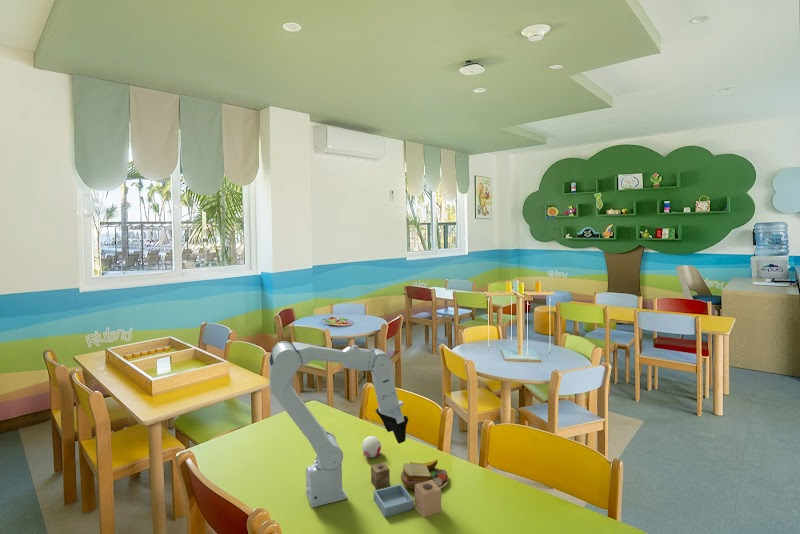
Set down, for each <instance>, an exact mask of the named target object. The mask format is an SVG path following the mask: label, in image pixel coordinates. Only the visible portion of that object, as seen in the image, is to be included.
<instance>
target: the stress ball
mask: <svg viewBox="0 0 800 534" xmlns="http://www.w3.org/2000/svg"><path fill="white" fill-rule="evenodd" d="M361 449H362V453H363V455H362V456H366V457H369V458H375V457H377V456H378V455H384V454H383V453H382V454H380V452H381V449H382V444H381V441H380V439H379V438H377V437H376V436H374V435H370V436H367V437H365V438H364V440H363V441H362V446H361Z"/></svg>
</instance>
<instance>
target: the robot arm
mask: <svg viewBox="0 0 800 534" xmlns="http://www.w3.org/2000/svg"><path fill="white" fill-rule="evenodd" d="M312 361H315V362H329V363H339V364H340V363H341V365H342V367H343V368H344V369H349V370H358V371H365V372H369V371H370V374H371V376H372V384H373V387H374V391H375V397H376V401H377V404H378V405H377V406H378V408H376V409H375V413H376V414H377V415H378V416H379V418H380V420H381V422H382V423H383V425H384V428H385V430H386V431H387V433H390V432H393V435H394V437H395V440H396V442H397V443H398V444H399V445H400V444H402V443H404V442H406V441H407V440H406V439H407V438H406V435H407V434H406V433H407V432H406V430H407V425H408V422H409V417H408V416H407V415H404V414H403V413H402V408H401V407H402V406H403V405H404V401H402V400H399V397H398V392H397V388H396V384H395V380H394V375H393V372H392V368H393V366H394V365H393V364H394V363H393V360H392V359H391V357H390V355H388V354H387V353H386V352H385V351H383V350H382V349H379V348H377V347H375V348H373V347H370V348H369V349H368V348H362V347H359V345H357V344H352V346H346V347H345V348H343V349H336V348H330V347H326V346H321V345H315V344H310V343H304V342H298V341H292V343H291V342H289V341H280V342H277V343H276V344H275V345H274V346H273V348H272V349H271V352H270V355H269V358H268V365H269V367H268V374H269V375H268V377H269V378H268V379H269V380H268V383H269V384H268V386H269V390H270V392H271V394H272V395H273V396H274V398H275V399H276V400H277V401H278V402H279V404H280V405H281V407H283V409H284V410H285V412H286V413H287V414H288V416H289V418H291V420H292V421H293V422H294V424H295V425H296V426H297V428H298V429H299V430H300V431H301V433H302V434H303V436H304V437H305V438H306V439H307V441H308V443H310V445H311V447H312V449H313V451H314V453H315V454H316V457H315V459H314V463H312V464H311V465H309V466H306V468H305V484H306V485H305V487H306V488H305V494H306V496H307V498H308V501H309V504H310V506H311V508H316V507H320V506H323V505H327V504H330V503H331V504H332V503H335V502H336V503H337V502H339V501H343V500H347V499H348V495H347V493H346V492H345V490H344V487H343V467H342V465H343V464H342V462H343V459H344V452H343V451H342V449H341V448H340V445H339V444H338V442H337V439H336V436H335V435H334V434H333V433H331V432H329V431H327V430H326V429H325V428H324V426H322V425H321V424H320V423H319V421H318V419H316V418H315V416H314V415H313V413H312V412H311V410H310V409H309V408H308V406H307V405H306V404H305V403H304V401H303V399H302V398H301V397H300V396H299V394H298V392H296V390H295V388H294V387H293V386H292V381H293V378H294V375H296V373H297V371H298V370H299V368H300V366H302V367H303V368H304V367H305V366H307V365H308V364H309V363H311V362H312Z"/></svg>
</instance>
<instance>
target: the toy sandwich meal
mask: <svg viewBox="0 0 800 534" xmlns="http://www.w3.org/2000/svg"><path fill="white" fill-rule="evenodd" d="M438 461H439V460H438V459H435V460H432V461H428V462H424V463H423V462H422V463H421V462H420V463H419V462H412V461H409V463H408V462H406V463H404V464H403V468H402V472H401V473H400V479H401V482H402V483H403V484H402V485H404V487H406V488H408V489H411V490H414V491H415V484H418V483H421V482H425V481H429V480H433V481H434V483H435V484H436V485H437V486H438V487H439V488H440V489H441V490H443V489H444V488H445V487H446V486H447V485H448V483H449V481H450V479H449V476H448V472H447V470H445V469H442V468H441V469H440V468H437V465H438Z"/></svg>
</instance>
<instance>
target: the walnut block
mask: <svg viewBox="0 0 800 534" xmlns="http://www.w3.org/2000/svg"><path fill="white" fill-rule="evenodd" d="M370 474H371V475H370V482H371V484H372V485H373V487H374V488H375V491H376V490H380V489H383V488H387V487H391V486H390V485H391V484H390V482H391V481H390V479H391V478H390V477H391V476H390V467H388V465H387V464H386V462H380V463H376V464H372V465H370Z"/></svg>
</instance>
